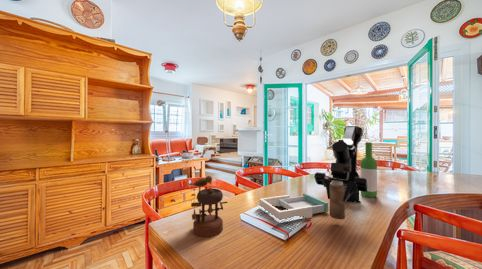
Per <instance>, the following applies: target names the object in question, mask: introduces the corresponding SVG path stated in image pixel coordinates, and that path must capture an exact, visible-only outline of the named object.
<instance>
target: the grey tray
mask: <svg viewBox="0 0 482 269" xmlns="http://www.w3.org/2000/svg"><path fill="white" fill-rule="evenodd" d="M279 204H280V206H279V207H281V208H284V209H285V208H286V209H285V210H287V209H293V208H299V207H305V206H312V215H314V214H320V213H328V212H329V202H328V201H327V202H326V201H325V200H322V199H320V198H318V197H315V196H312V195H310V194H308V193H306V192H304V193H303V192H302V195H300V196H295V197H292V196H291V197H290V198H285V199H279Z"/></svg>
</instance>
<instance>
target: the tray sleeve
mask: <svg viewBox="0 0 482 269" xmlns="http://www.w3.org/2000/svg"><path fill="white" fill-rule="evenodd" d="M285 198H291V197H290V195H289V194H284V195H277V196H276V195H275V196H269V197H263V198H259V201H258V202H259V206H261V207H263V208H264V209H265V210H267V211H268V212H269V213H271V214H272V215H274V216H275V217H276V218H278V219H279V220H282V219H287V218H291V217H294V216H305V217H306V218H307V219H310V218H311V219H312V218H313V214H312V206H305V207H299V208H293V209H288V210H287V209H283V210H282V209H281V210H280V209H278V208H277V207H274V206H272V205H275V206H278V207H281V206H280V204H279V199H285ZM259 206H258V207H259Z"/></svg>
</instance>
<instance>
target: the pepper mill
mask: <svg viewBox="0 0 482 269" xmlns="http://www.w3.org/2000/svg"><path fill="white" fill-rule="evenodd" d="M344 196H345V186H344V185H343V182H342V181H338V180H332V181H331V183H330V199H329V217H331V218H333V219H334V220H345V215H346V211H345V209H346V208H345V204H346V202H344Z"/></svg>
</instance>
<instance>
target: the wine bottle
mask: <svg viewBox="0 0 482 269" xmlns="http://www.w3.org/2000/svg"><path fill="white" fill-rule="evenodd" d="M360 177H361V178H366V179H367V185H368V189H367V192H363V191H360V195H361V196H363V197H366V198H376V197H377V196H378V163H377V160H376V159H375V158H374V157H373V143H372V142H367V141H366V142H365V156H364V157H363V158H361V160H360Z"/></svg>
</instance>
